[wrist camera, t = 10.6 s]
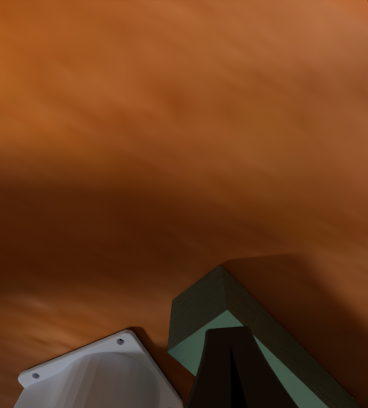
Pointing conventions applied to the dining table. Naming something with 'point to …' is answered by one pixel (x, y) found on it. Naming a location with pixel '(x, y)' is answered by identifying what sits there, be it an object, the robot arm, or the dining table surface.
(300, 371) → the dark green rectangular beam
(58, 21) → the dining table surface
